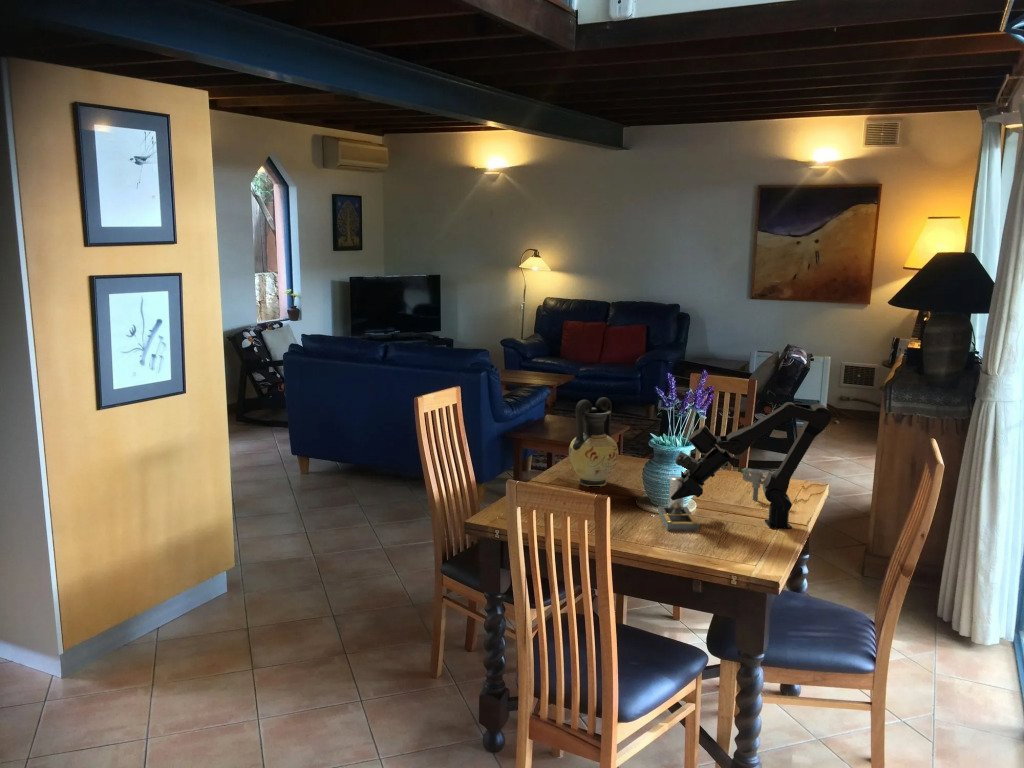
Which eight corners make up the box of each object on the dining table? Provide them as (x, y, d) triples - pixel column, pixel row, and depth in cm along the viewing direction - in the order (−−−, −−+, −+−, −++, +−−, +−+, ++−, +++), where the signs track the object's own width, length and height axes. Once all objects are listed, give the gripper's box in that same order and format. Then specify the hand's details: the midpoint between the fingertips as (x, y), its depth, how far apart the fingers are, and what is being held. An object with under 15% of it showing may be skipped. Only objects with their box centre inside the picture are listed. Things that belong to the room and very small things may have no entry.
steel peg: (683, 520, 256) (685, 480, 253) (669, 519, 256) (671, 480, 253) (680, 515, 260) (682, 476, 258) (666, 515, 260) (668, 476, 258)
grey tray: (697, 531, 246) (698, 523, 246) (667, 530, 246) (667, 523, 246) (686, 513, 262) (686, 505, 262) (657, 512, 262) (658, 505, 262)
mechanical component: (768, 504, 272) (770, 474, 270) (738, 498, 278) (740, 469, 276) (771, 502, 274) (774, 472, 272) (741, 496, 280) (743, 467, 279)
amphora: (589, 473, 303) (592, 391, 298) (627, 483, 292) (631, 399, 287) (557, 482, 291) (559, 398, 286) (595, 494, 279) (598, 405, 274)
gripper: (691, 437, 262) (653, 469, 266) (693, 452, 244) (653, 486, 248) (715, 463, 262) (677, 494, 266) (719, 480, 244) (679, 513, 248)
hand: (671, 496), depth 257 cm, fingers closed on steel peg, 4 cm apart
